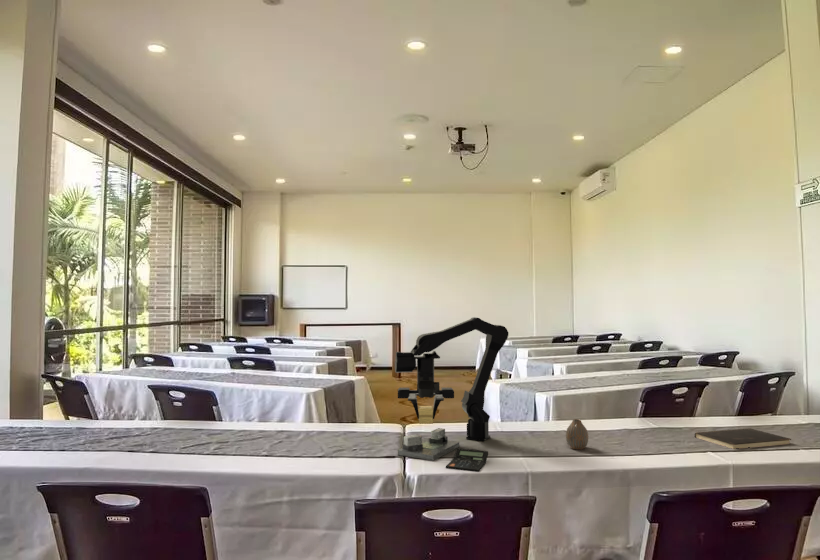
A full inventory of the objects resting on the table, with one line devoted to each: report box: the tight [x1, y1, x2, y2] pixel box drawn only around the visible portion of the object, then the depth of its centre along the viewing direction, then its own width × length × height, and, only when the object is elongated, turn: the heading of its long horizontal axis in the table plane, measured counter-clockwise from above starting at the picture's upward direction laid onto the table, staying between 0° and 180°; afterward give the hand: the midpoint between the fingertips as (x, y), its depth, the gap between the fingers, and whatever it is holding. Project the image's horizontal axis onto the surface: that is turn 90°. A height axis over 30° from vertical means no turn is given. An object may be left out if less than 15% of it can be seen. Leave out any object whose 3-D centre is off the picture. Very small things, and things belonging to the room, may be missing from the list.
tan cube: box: [418, 405, 434, 425], centre depth 184 cm, size 5×5×5 cm
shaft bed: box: [397, 427, 460, 462], centre depth 171 cm, size 12×18×5 cm, turn 150°
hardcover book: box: [694, 427, 792, 450], centre depth 183 cm, size 16×23×2 cm
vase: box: [565, 418, 589, 451], centre depth 174 cm, size 7×7×9 cm
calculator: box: [445, 447, 489, 472], centre depth 157 cm, size 9×12×3 cm
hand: (425, 418), depth 184 cm, fingers closed on tan cube, 5 cm apart
